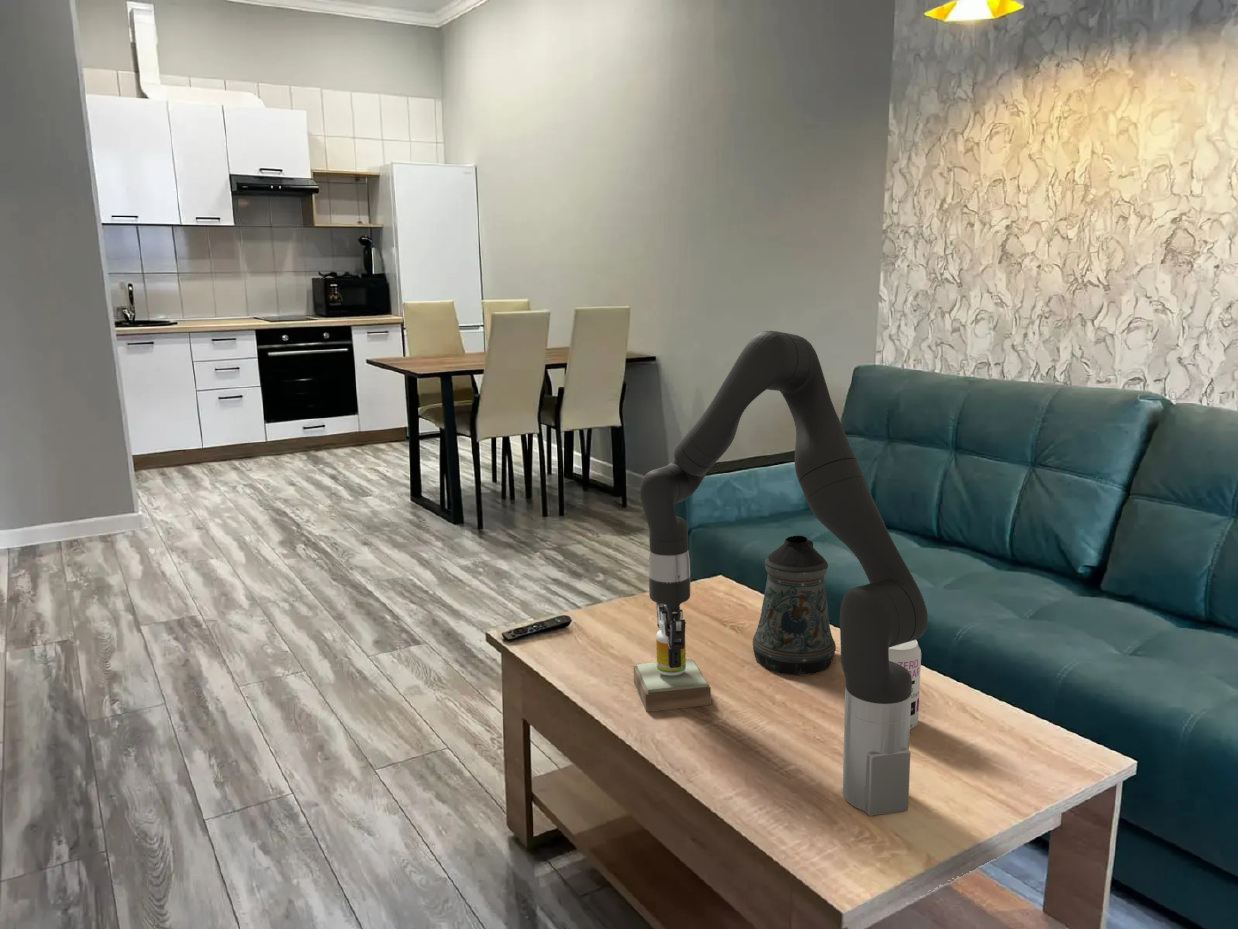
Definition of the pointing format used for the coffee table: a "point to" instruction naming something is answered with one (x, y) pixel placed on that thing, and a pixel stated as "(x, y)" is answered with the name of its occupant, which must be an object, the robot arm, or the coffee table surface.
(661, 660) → the supplement bottle
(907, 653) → the supplement can
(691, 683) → the plinth
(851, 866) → the coffee table surface
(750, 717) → the coffee table surface
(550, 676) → the coffee table surface
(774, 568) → the painted ceramic vase
